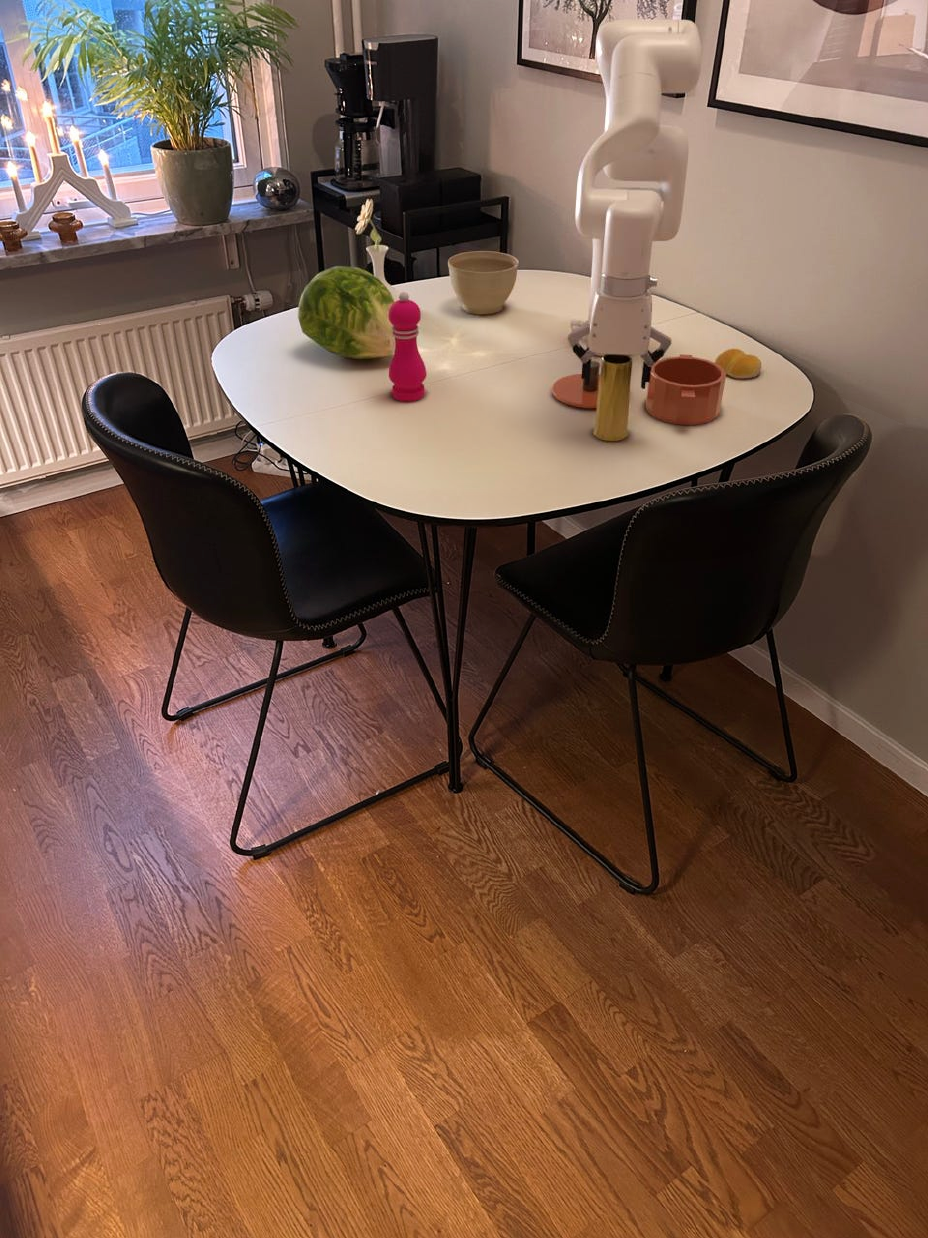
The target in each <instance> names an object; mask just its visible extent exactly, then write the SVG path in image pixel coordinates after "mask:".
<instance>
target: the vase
mask: <svg viewBox="0 0 928 1238" xmlns="http://www.w3.org/2000/svg"><path fill="white" fill-rule="evenodd" d="M633 364H634V361H633V357H632V355H614V354H605V355H603V356H601V365H600V384H599V394H598V401H597V408H596V411H595V419H594V428H593V431H592V432H593V435H594V437H596V438H597V439H598V440H602V441H605V442H619V441H622V440H624V439H626V438H627V437H628V433H629V432H628V425H629V412H630V411H629V409H630V408H629V407H630V392H631V380H632V370H633Z"/></svg>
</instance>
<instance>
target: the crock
mask: <svg viewBox="0 0 928 1238" xmlns="http://www.w3.org/2000/svg"><path fill="white" fill-rule="evenodd" d="M726 378H727V374H726V373H725V370H724V369H723V368H722V367H721V366H720V365H719V364H716V363H715V361H711V360H710V359H705V358H700V357H696V356H693V354H679V355H678V356H670V357H665V358H660V359H659V360H658V361H657V362H655V363H654V365H653V366H652V368H651V376H650V383H648V382H647V391H646V400H645V410H646V412H647V413H648V414H649V415H650V416H652V417H653V418H655V419H657V420H659V421H662V422H663V423H669V424H673V425H679V426H696V425H703V424H706V423H709V422H712V421H714V420H715V419H716V418H718V416H719V414H720V412H721V408H722V402H723V395H724V391H725V385H726Z"/></svg>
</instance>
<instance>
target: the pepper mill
mask: <svg viewBox="0 0 928 1238" xmlns="http://www.w3.org/2000/svg"><path fill="white" fill-rule="evenodd" d="M409 298H410V297H409V294H408V293H407V292H405V291H400V294H399V299H400V300H398V301H396V302H394V303H393V304H392V305H391V306H390V308H389V313H388V317H389V321H390V322H391V324H392V325H393V327H392V331H393V332H392V335H393V336H394V337H395V352H394V353H393V356H392V359H391V361H390V364H389V368H388V378H389V381H390V382H391V383H392V384H393V385H392V386H391V391H392V392H391V393H392V397H393V398H394V399H395V400H397V401H400V402H415V401H418V400H419V401H420V400H421V399H423V398H424V396H425V395H426V394H425V384H424V381H425V380H426V378H427V369H426V365H425V362H424V360H423V358H422V355H421V353H420V352H419V348H418V341H417V339H418V338H417V337H418V336H419V334H420V332H419V328H420V327H419V325H418V324H419V322H420V321H421V318H422V313H421V308H420V307H419V305H418V304H417V303H416V302H415V301H413V300H411V299H409Z"/></svg>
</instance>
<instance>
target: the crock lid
mask: <svg viewBox="0 0 928 1238" xmlns="http://www.w3.org/2000/svg"><path fill="white" fill-rule="evenodd" d="M600 371H601V364H600V362H598V361H596V360H595V361H594V360H591V370H590V381H589V385H588V386H585V379H581V376H582V373H576V374H575V373H574V374H570V375H566V376H563V377H561V378H559V379H557V380H556V381H555V382H554V383H553V385H552V387H551V391H552V395H553V396H554V397H555V398H556V399H557V400H558V401H560V402H562V403H564V404H566V405H568V406H569V405H570V406H573V407H578V408H584V409H585V408H587V409H597V401H598V394H599V384H600V375H601V373H600Z"/></svg>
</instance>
